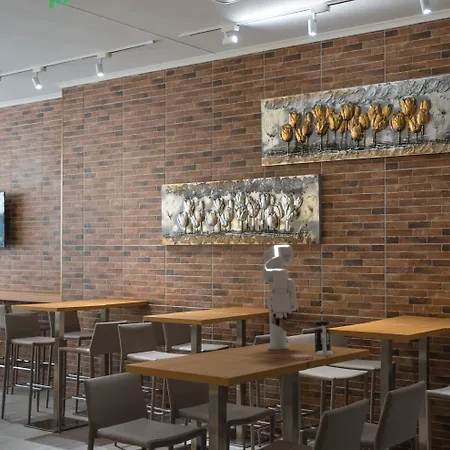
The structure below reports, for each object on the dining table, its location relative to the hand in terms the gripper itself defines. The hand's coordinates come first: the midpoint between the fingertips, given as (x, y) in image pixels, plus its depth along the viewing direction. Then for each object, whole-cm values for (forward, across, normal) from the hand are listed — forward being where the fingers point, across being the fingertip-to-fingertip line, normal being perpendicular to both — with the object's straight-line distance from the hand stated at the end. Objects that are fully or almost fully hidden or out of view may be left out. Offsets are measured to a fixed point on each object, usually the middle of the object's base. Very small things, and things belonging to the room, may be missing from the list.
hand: (280, 324), depth 412 cm
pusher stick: (+1, 0, 0) cm, 1 cm away
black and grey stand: (+17, +22, -7) cm, 29 cm away
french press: (+17, +28, +8) cm, 34 cm away
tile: (+16, +5, -11) cm, 20 cm away
